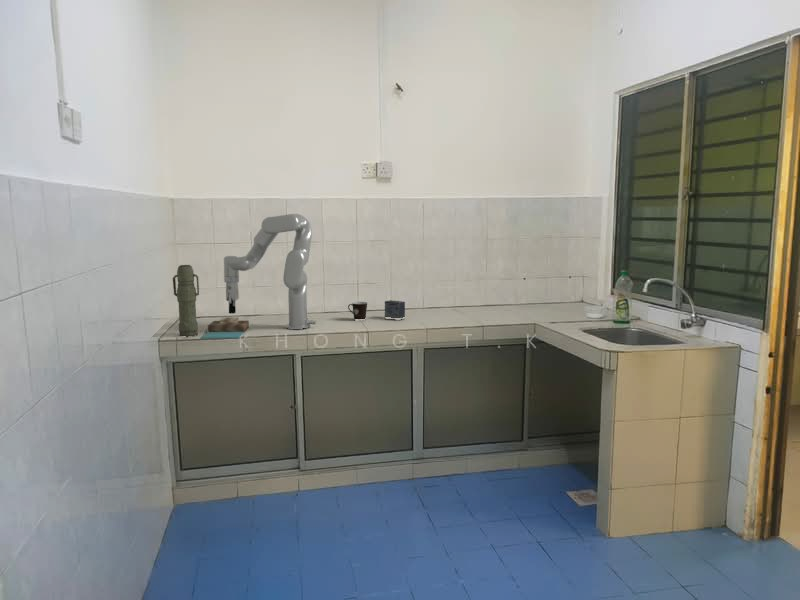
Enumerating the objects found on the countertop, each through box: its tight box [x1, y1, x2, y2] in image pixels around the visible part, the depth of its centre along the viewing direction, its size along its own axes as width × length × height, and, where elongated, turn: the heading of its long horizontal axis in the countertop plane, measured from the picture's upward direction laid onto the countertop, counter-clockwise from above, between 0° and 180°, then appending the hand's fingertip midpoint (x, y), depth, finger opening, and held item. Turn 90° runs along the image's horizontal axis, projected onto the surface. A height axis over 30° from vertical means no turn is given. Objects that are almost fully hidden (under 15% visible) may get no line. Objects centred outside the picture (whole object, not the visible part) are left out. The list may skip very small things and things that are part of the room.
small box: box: [384, 300, 406, 318], centre depth 327 cm, size 11×6×10 cm, turn 58°
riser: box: [207, 320, 250, 333], centre depth 294 cm, size 18×12×4 cm, turn 94°
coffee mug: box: [347, 301, 368, 320], centre depth 324 cm, size 12×9×10 cm
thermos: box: [172, 264, 200, 338], centre depth 280 cm, size 9×12×35 cm
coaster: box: [219, 316, 239, 324], centre depth 295 cm, size 8×6×2 cm
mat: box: [200, 331, 245, 340], centre depth 282 cm, size 18×12×1 cm, turn 94°
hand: (232, 313), depth 304 cm, fingers closed
